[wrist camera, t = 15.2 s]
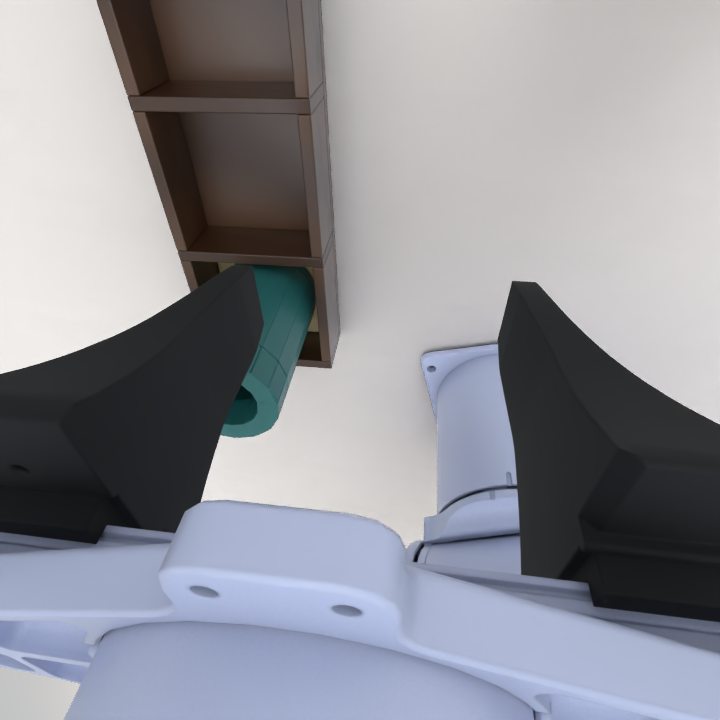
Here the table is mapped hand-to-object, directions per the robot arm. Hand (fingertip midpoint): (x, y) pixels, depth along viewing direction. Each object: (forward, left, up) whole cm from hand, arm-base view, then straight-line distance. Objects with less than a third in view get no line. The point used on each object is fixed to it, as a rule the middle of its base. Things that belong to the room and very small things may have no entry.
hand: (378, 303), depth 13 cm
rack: (+2, +6, -9) cm, 11 cm away
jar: (-4, +8, -9) cm, 12 cm away
